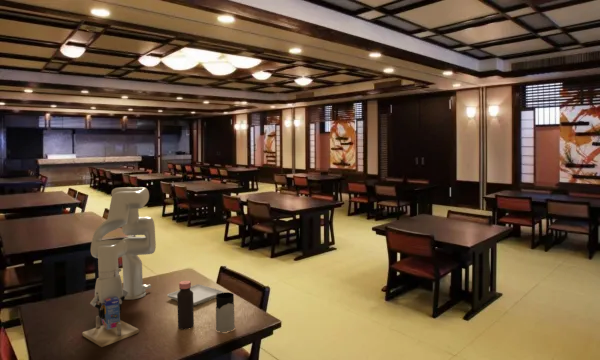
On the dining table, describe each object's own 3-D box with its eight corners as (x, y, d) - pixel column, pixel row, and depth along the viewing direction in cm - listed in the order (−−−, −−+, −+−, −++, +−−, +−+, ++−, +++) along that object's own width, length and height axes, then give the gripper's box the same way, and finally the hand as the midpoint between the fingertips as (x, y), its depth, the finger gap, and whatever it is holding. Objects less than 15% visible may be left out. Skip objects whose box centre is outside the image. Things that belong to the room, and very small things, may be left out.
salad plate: (197, 289, 228) (197, 283, 227) (224, 297, 215) (224, 290, 215) (165, 300, 210) (165, 294, 210) (192, 310, 198) (192, 303, 198)
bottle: (177, 324, 181) (176, 280, 179) (192, 322, 184) (191, 279, 182) (178, 331, 175) (177, 285, 173) (195, 328, 178) (194, 283, 176)
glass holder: (219, 335, 171) (218, 300, 170) (208, 322, 183) (207, 290, 182) (238, 330, 176) (238, 296, 174) (226, 318, 188) (225, 286, 186)
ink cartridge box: (100, 322, 174) (100, 289, 173) (114, 319, 177) (113, 286, 176) (106, 330, 166) (105, 295, 165) (120, 327, 169) (120, 293, 168)
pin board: (119, 322, 183) (118, 308, 182) (138, 332, 173) (138, 317, 173) (82, 335, 170) (82, 320, 170) (101, 347, 161) (100, 331, 160)
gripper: (123, 267, 179) (125, 306, 180) (83, 277, 165) (85, 320, 167) (132, 270, 174) (134, 311, 176) (92, 280, 161) (93, 324, 162)
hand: (110, 315), depth 171 cm, fingers closed on ink cartridge box, 6 cm apart
